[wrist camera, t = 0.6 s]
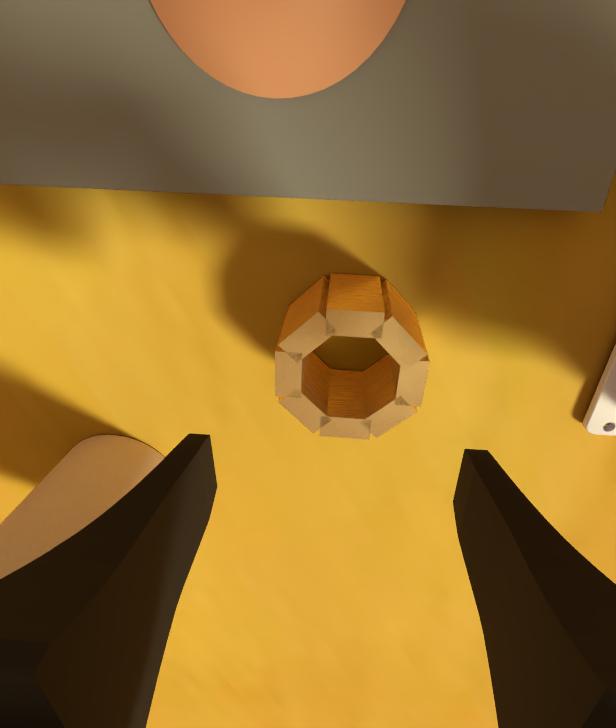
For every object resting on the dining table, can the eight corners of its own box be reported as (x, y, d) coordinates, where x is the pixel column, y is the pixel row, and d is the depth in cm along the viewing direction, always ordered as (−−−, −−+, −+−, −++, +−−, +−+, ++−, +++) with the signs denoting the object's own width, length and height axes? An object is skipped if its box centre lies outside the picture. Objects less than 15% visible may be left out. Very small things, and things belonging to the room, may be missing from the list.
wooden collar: (424, 278, 19) (438, 315, 16) (405, 392, 22) (414, 442, 19) (287, 270, 19) (274, 305, 16) (286, 384, 22) (275, 432, 19)
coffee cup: (128, 554, 30) (-42, 908, 17) (5, 457, 26) (-329, 813, 13) (241, 500, 26) (136, 892, 14) (118, 380, 23) (-184, 759, 10)
